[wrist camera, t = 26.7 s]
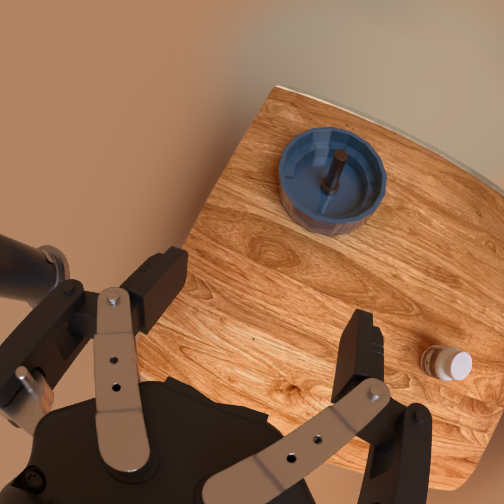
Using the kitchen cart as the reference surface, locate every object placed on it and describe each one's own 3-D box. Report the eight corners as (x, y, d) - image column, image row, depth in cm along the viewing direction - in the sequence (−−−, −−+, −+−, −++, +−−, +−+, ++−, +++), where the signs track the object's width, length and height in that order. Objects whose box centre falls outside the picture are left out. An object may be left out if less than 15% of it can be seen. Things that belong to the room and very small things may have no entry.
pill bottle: (419, 346, 34) (448, 350, 27) (445, 342, 34) (475, 345, 26) (418, 377, 33) (446, 387, 26) (444, 373, 33) (473, 380, 26)
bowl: (288, 243, 39) (289, 231, 34) (272, 154, 42) (271, 132, 37) (384, 229, 38) (398, 216, 33) (360, 145, 42) (368, 124, 36)
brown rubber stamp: (322, 197, 40) (333, 164, 31) (319, 181, 40) (328, 146, 31) (339, 195, 39) (353, 162, 31) (335, 179, 40) (348, 144, 31)
